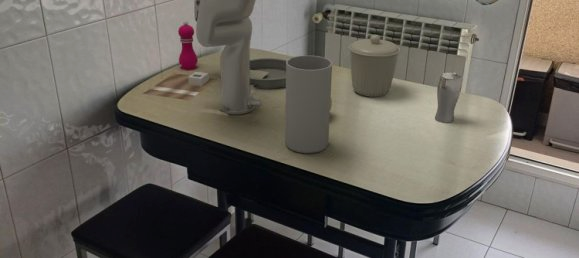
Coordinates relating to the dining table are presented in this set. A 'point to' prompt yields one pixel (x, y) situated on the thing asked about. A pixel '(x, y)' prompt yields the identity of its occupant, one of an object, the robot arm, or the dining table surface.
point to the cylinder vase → (308, 103)
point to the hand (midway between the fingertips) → (206, 39)
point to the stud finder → (198, 79)
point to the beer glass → (447, 96)
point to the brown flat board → (177, 87)
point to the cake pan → (275, 69)
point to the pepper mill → (187, 47)
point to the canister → (373, 65)
